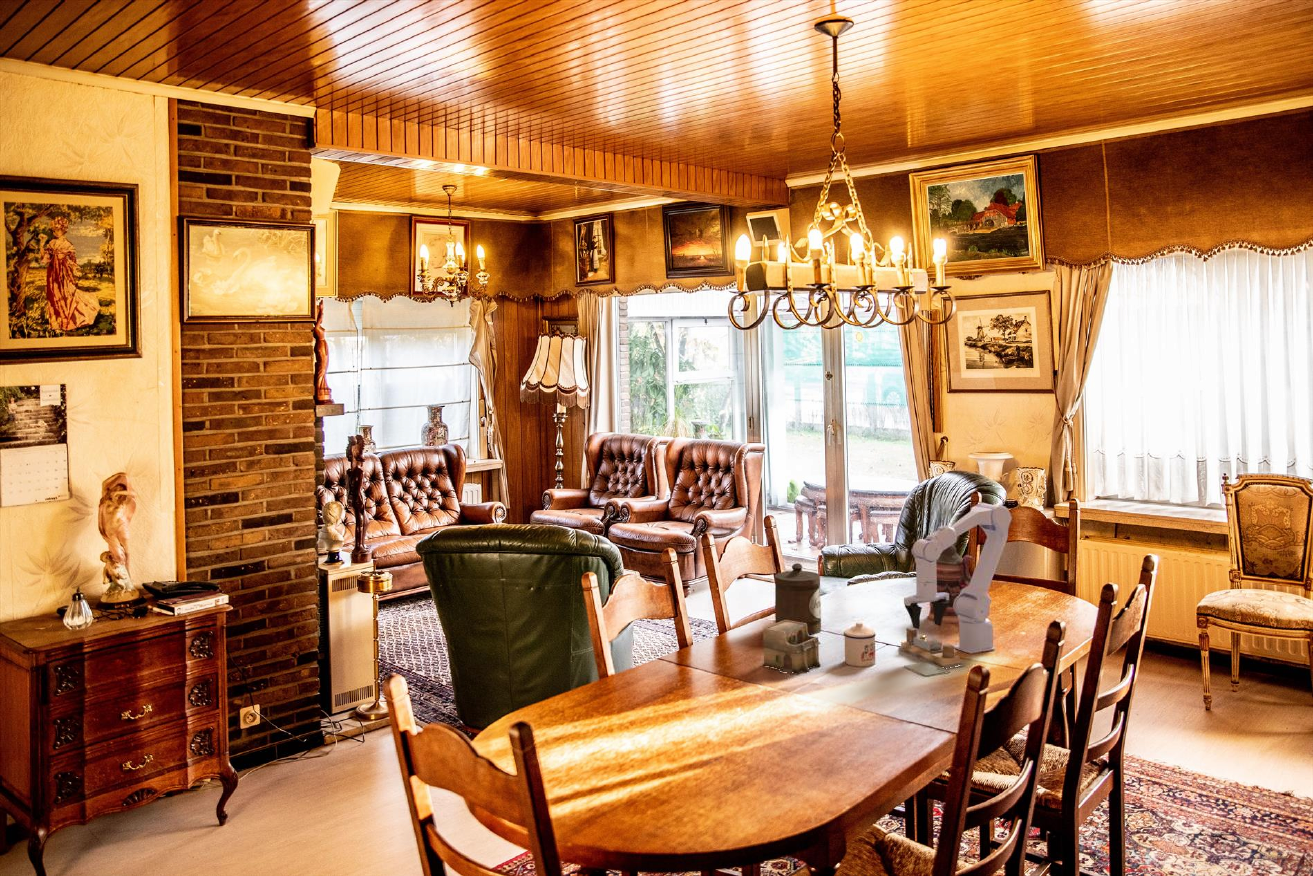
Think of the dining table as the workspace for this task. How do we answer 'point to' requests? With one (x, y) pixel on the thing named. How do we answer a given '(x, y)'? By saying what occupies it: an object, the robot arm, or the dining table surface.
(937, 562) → the beer stein
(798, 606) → the wooden container
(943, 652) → the plane body
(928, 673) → the felt pad
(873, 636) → the teacup with lid
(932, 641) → the lever cap
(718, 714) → the dining table surface
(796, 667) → the miniature house
